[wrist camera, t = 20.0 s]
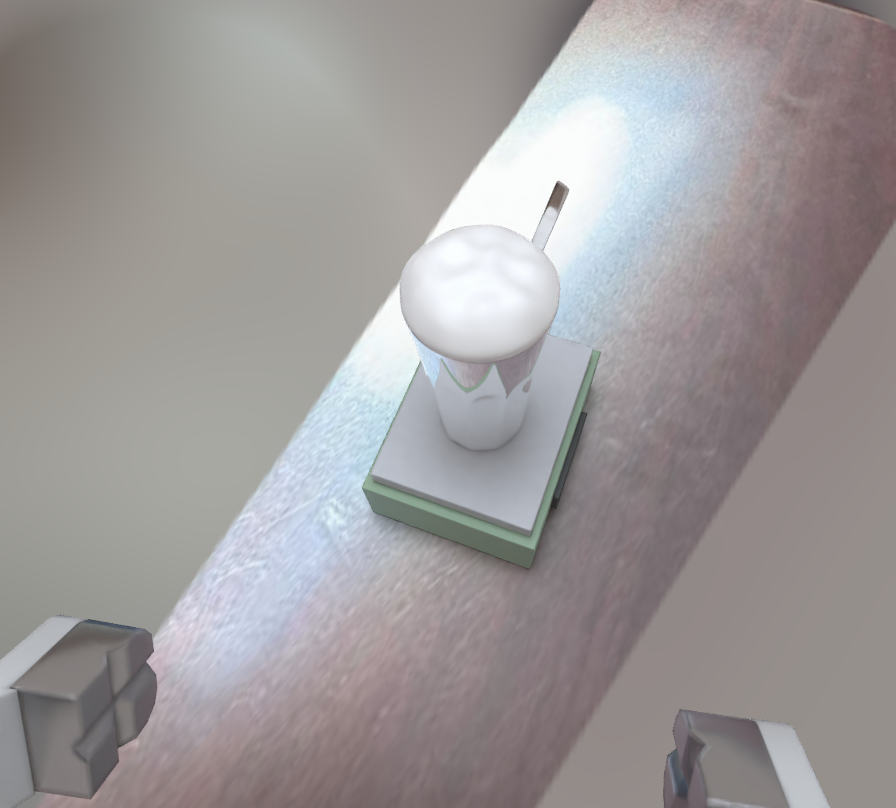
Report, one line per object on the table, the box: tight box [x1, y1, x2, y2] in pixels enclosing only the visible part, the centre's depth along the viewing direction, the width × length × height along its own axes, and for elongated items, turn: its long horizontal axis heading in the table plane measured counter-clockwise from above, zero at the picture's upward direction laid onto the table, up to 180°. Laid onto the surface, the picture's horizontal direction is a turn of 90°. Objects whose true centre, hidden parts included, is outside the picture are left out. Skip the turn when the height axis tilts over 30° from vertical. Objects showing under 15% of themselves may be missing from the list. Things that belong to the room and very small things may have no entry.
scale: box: [362, 335, 600, 569], centre depth 28 cm, size 7×9×4 cm
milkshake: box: [400, 181, 569, 451], centre depth 22 cm, size 4×5×10 cm
